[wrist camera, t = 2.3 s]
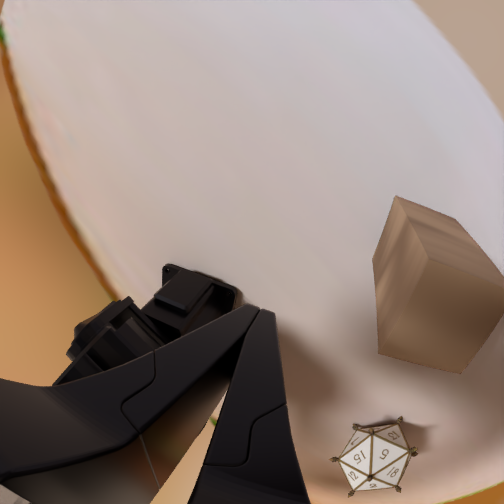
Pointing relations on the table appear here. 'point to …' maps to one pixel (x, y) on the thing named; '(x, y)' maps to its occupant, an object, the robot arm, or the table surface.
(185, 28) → the table surface
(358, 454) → the game die
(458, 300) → the brown rectangular block
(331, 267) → the table surface
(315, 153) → the table surface
